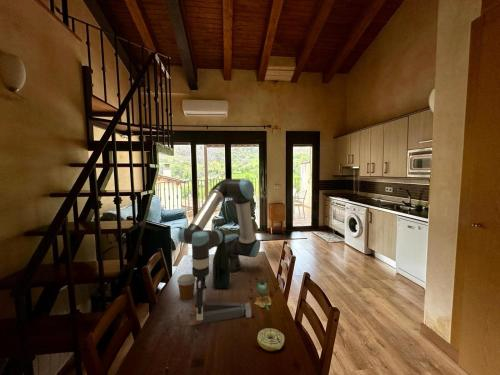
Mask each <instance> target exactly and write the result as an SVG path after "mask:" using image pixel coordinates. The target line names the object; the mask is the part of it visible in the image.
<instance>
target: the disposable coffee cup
mask: <svg viewBox="0 0 500 375" xmlns="http://www.w3.org/2000/svg"><path fill="white" fill-rule="evenodd" d="M196 280H197V277H194V276H193V275H192V273H187V274H186V273H185V274H182V275H180V276H179V277H178V278H177V280H176V281H177V285H178V291H179V296H180V300H181V301H184V302H186V301H187V302H189V301H191V300H193V298H194V295H195V294H194V292H195V286H196Z"/></svg>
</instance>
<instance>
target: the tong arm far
mask: <svg viewBox="0 0 500 375" xmlns="http://www.w3.org/2000/svg"><path fill="white" fill-rule="evenodd" d="M202 304H203V312H208V311H214V310H221V309H228V308H234V307H241V306H244V307H245V302H244V303H243V302H220V301H205V302H203V303H202ZM195 305H196V301H192V303H191V312H196V307H195ZM196 313H197V312H196Z"/></svg>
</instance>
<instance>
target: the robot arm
mask: <svg viewBox="0 0 500 375" xmlns="http://www.w3.org/2000/svg"><path fill="white" fill-rule="evenodd" d="M254 196H255V188H254V184H253V182H252V181H251V180H250V179H245V178H238V179H237V178H226V179H223V180H220V181H219V182H217V183H215V185H213V187H212V188H211V189H210V191H209V192H208V196H207V198H206V199H205V201H204V203H203V204H202V206H201V207H200V209H199V210H198V211H197V213H196V215H195V216H194V218H193V219H192V220H191V221H190V223H189V225H188V226H187V227H183V228H180V230H179V232H178V233H177V234H178V235H177V237H178V238H177V239H178V241H179V242H180V243H183V244H186V245H188V244H189V245H191V255H192V256H191V258H192V259H190V262H191V263H192V264H191V266H192V268H191V271H192V272H191V274H192V275H193V276H194V277H195V278H196V281H195V286H196V287H195V289H196V294H195V295H196V296H195V297H196V299H195V302H196V305H195V307H196V313H197V320H203V304H202V303H203V302H206V289H207V288H208V287H207V286H206V277H207V276H209V274H210V250H212V249H214V248H215V247H217V245H219V244H220V243H221V242H222V240H223V235H222V233H221V232H220V230H219V229H212V230H204V229H205V228H206V226H207V224H208V223H209V221H210V220H211V218H212V216H213V215H214V213H215V211H216V209H217V208H218V206H219V205H220V204H221V203H222V202H224V200H225V199H226V198H227V199H228V198H229V199H232V203H233V204H234V205H235V207H236V216H237V221H238V222H237V223H238V227H239V234H240V235H239V234H237V233H232V234H231V233H229V234H225V247H226V250H227V253H228V255H229V259H230V273H237V272H239V271H241V269H242V263H241V259H240V256H242V257H246V258H248V257H249V258H256V257H257V256H258V255H259V252H260V250H261V249H260V248H261V240H260V239H257V235H256V234H255V233H254V228H253V220H252V219H253V218H252V211H251V202H252V199H253V198H254Z"/></svg>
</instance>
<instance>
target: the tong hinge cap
mask: <svg viewBox="0 0 500 375" xmlns="http://www.w3.org/2000/svg"><path fill="white" fill-rule="evenodd" d="M244 304H245V318H246V319H247V318H252V307H251V302H244Z"/></svg>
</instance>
